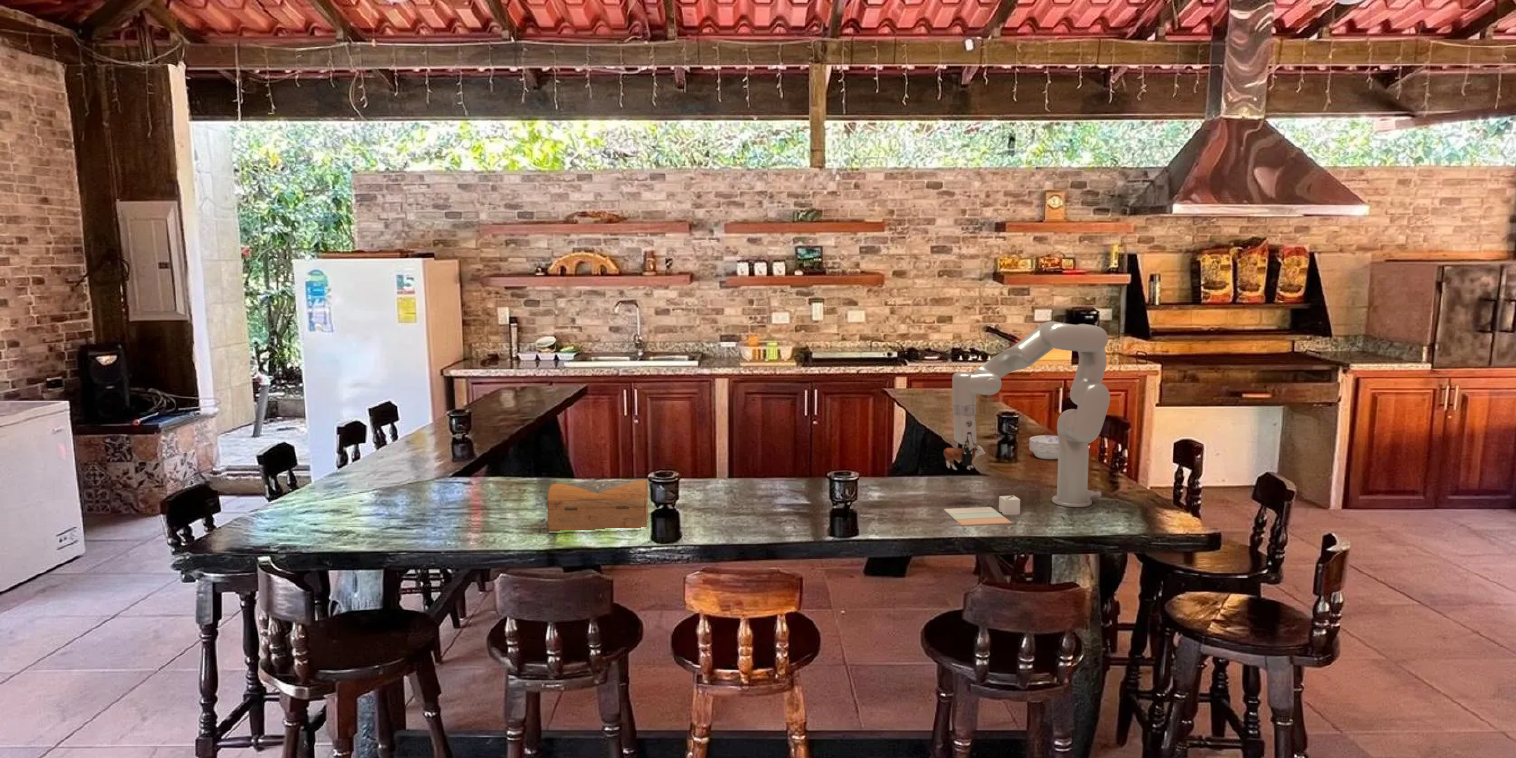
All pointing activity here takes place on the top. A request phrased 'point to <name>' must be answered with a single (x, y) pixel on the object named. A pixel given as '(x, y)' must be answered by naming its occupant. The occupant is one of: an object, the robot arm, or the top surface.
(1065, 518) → the top surface
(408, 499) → the top surface
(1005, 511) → the die
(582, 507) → the wooden box
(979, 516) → the game board
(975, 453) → the bull figurine
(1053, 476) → the top surface
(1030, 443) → the paper bowls
